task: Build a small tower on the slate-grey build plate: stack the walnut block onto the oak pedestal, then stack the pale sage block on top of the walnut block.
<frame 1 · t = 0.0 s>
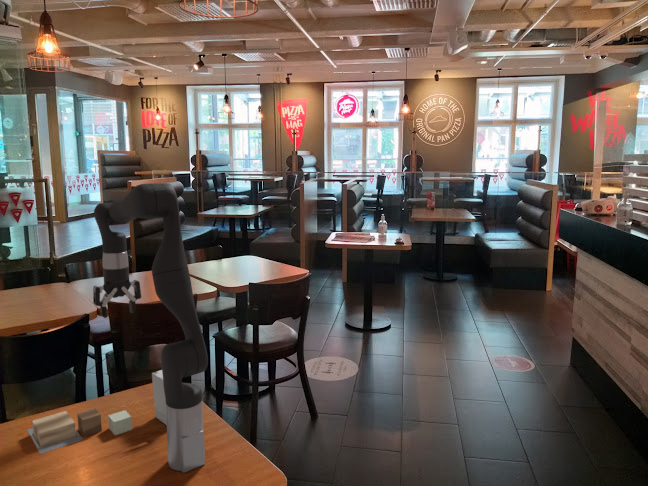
hand: (118, 314, 165), 29 cm above the table, fingers open, 8 cm apart
skincare box: (168, 419, 158), on the table
block B: (120, 431, 150), on the table
build plate: (54, 437, 147), on the table
block A: (90, 432, 150), on the table
pedestal: (54, 434, 147), resting on build plate
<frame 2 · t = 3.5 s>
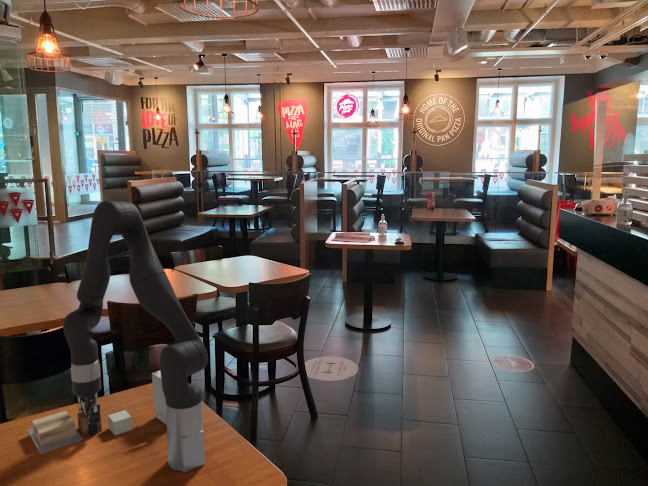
hand: (90, 430, 149), 1 cm above the table, fingers closed on block A, 5 cm apart
block A: (90, 432, 150), on the table, touching gripper
everything else where it was.
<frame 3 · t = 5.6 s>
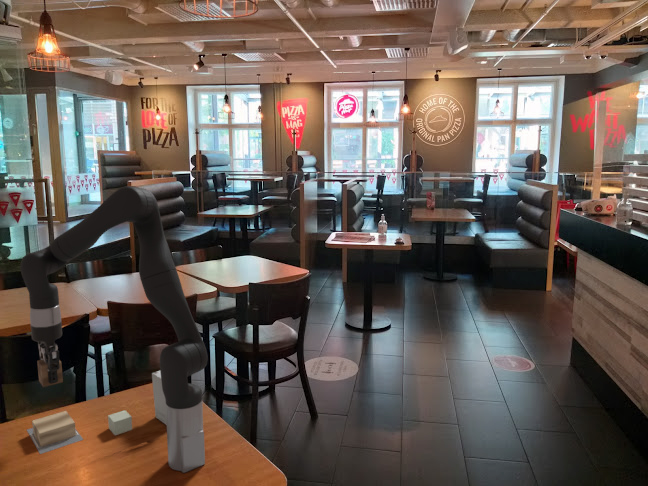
hand: (50, 378, 144), 18 cm above the table, fingers closed on block A, 5 cm apart
block A: (50, 381, 144), point 17 cm above the table, touching gripper
everything else where it was.
when the fingers open (7 cm above the table, at t = 8.0 s): block A drops 1 cm, resting on pedestal.
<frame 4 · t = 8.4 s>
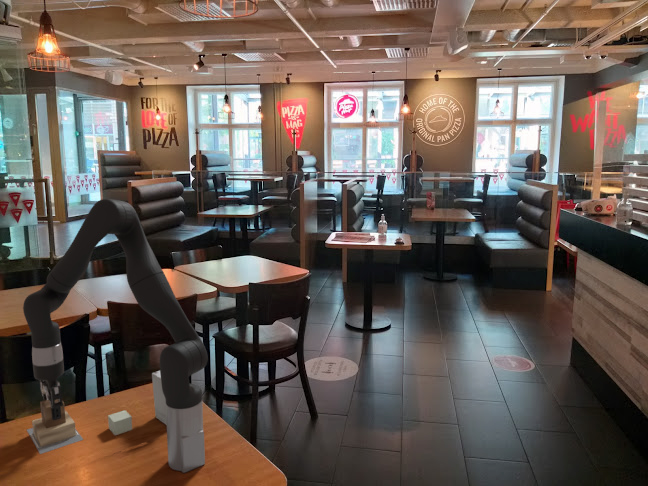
hand: (52, 413, 146), 7 cm above the table, fingers open, 8 cm apart
block A: (53, 421, 146), point 5 cm above the table, touching pedestal
everything else where it was.
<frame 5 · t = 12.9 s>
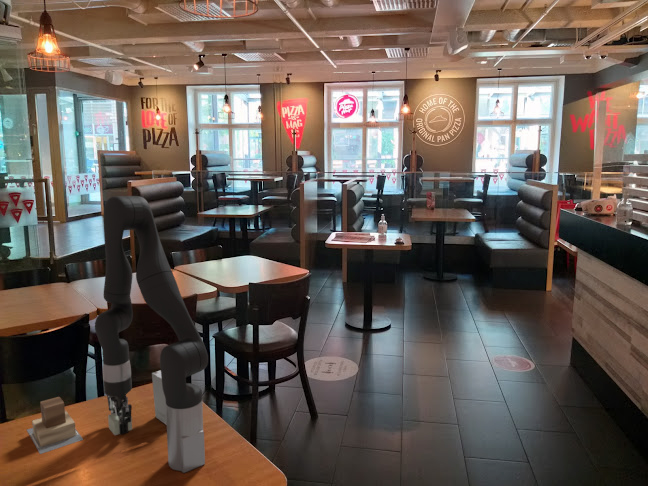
hand: (120, 429, 150), 0 cm above the table, fingers closed on block B, 5 cm apart
block B: (120, 431, 150), on the table, touching gripper
everything else where it was.
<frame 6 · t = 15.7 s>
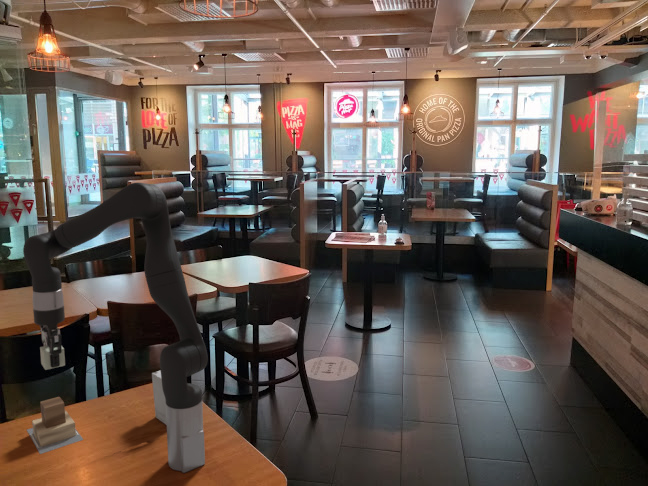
hand: (52, 362, 144), 22 cm above the table, fingers closed on block B, 5 cm apart
block B: (53, 364, 144), point 22 cm above the table, touching gripper
everything else where it was.
when the fingers open (12 cm above the table, at t = 18.4 s): block B drops 1 cm, resting on block A.
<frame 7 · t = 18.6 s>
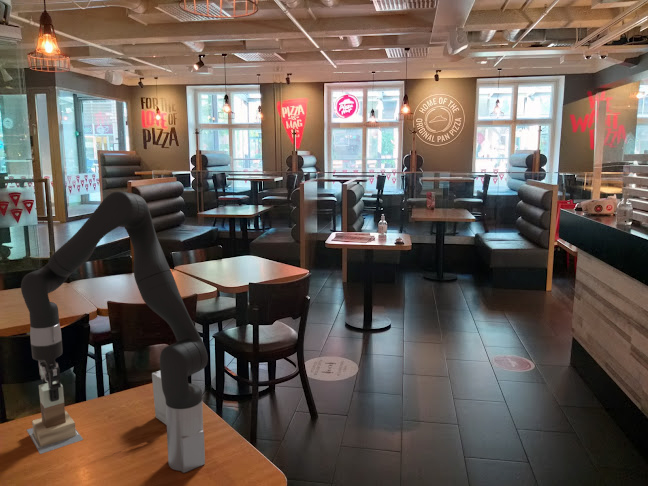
hand: (51, 395, 145), 13 cm above the table, fingers open, 6 cm apart
block B: (52, 402, 145), point 11 cm above the table, touching block A
block A: (53, 421, 146), point 5 cm above the table, touching block B, pedestal
everything else where it was.
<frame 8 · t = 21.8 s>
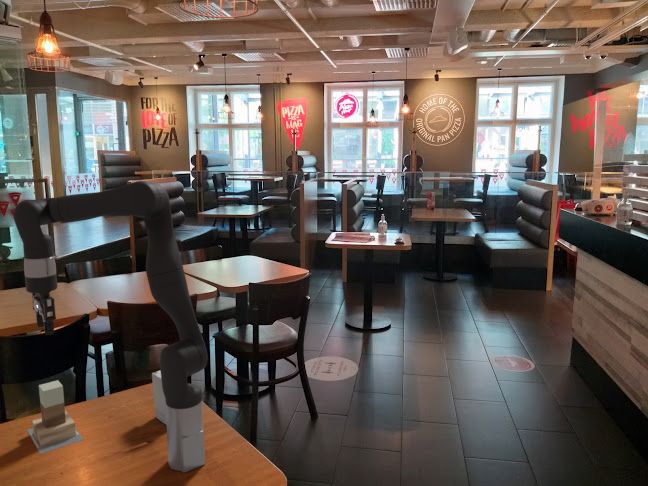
hand: (45, 330, 141), 32 cm above the table, fingers open, 8 cm apart
nothing on the table moved.
at the end: block A inside the target area on the pedestal (0.2 cm from its centre), point 4.0 cm above the pedestal's base; block B 0.1 cm off-centre on the block A, point 6.0 cm above the block A's base; block B tilted 0° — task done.
